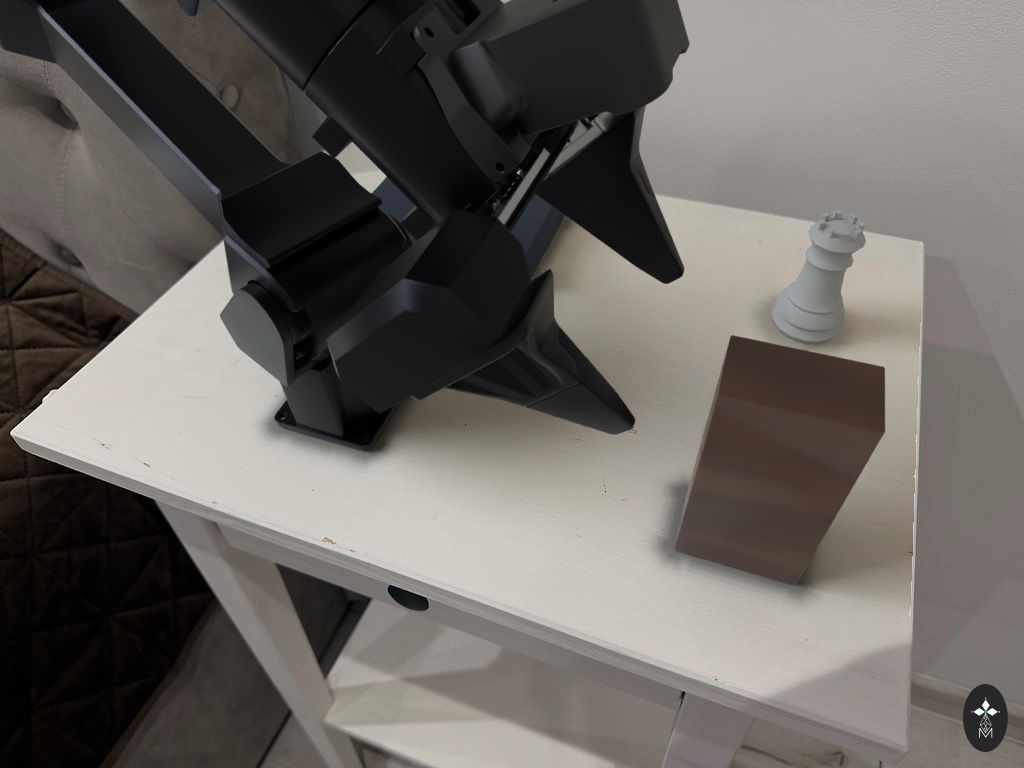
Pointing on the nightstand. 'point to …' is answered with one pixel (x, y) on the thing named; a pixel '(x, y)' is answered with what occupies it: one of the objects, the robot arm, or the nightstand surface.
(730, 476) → the brown wooden block
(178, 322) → the nightstand surface
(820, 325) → the rook chess piece
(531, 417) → the nightstand surface
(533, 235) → the blue rectangular frame
